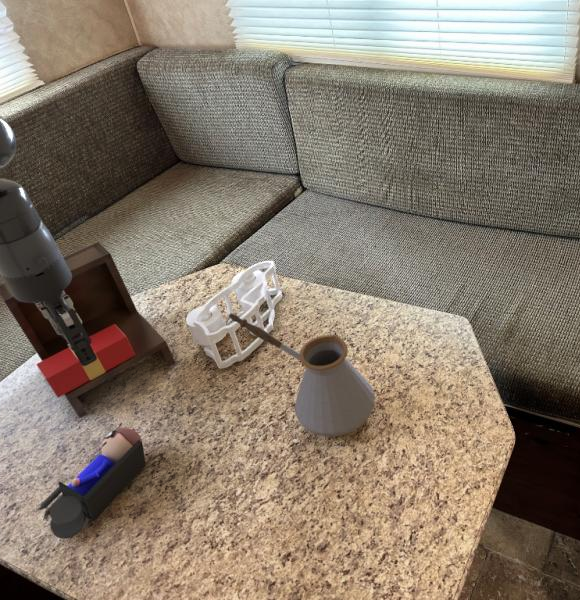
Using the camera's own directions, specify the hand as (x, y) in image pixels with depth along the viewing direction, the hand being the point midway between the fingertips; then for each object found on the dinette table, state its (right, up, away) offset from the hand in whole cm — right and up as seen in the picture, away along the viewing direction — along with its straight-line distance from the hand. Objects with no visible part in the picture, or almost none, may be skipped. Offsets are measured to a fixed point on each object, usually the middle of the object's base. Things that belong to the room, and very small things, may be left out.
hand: (79, 348), depth 90 cm
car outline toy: (+21, +2, +16) cm, 26 cm away
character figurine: (+9, -19, -9) cm, 23 cm away
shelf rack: (-1, -4, +11) cm, 11 cm away
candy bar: (0, -3, +3) cm, 5 cm away
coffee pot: (+34, -9, 0) cm, 35 cm away
